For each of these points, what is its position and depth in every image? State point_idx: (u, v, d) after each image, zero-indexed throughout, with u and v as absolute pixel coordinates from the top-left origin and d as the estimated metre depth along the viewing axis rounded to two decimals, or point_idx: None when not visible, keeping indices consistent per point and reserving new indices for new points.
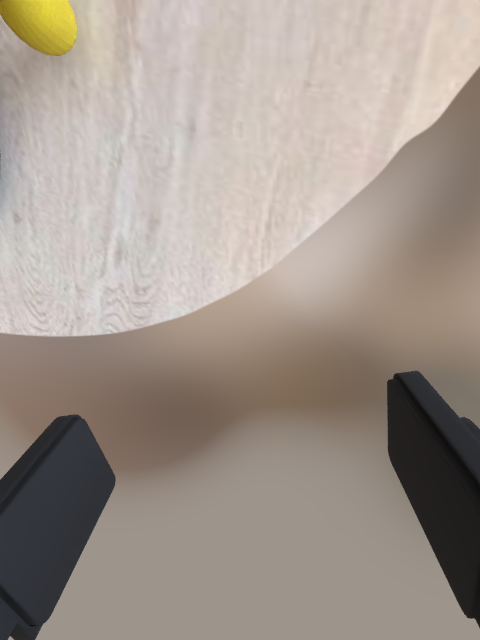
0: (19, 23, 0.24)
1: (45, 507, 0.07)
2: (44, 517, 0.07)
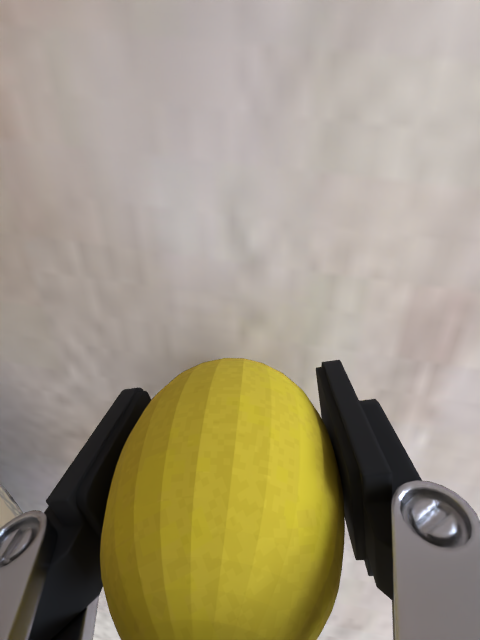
0: None
1: None
2: None
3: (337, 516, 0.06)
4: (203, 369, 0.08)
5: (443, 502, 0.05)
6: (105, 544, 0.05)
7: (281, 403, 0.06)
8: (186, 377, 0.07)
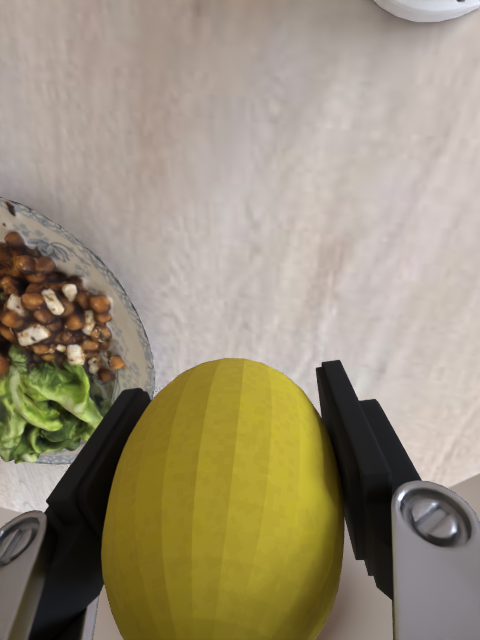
0: None
1: None
2: None
3: (337, 515, 0.06)
4: (203, 369, 0.08)
5: (443, 502, 0.05)
6: (106, 543, 0.05)
7: (280, 403, 0.07)
8: (187, 377, 0.07)
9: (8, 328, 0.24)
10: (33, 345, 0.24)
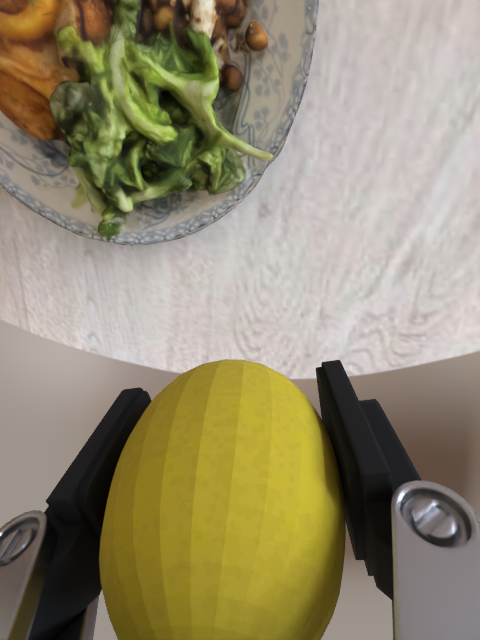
0: None
1: None
2: None
3: (338, 519, 0.06)
4: (203, 371, 0.08)
5: (443, 502, 0.05)
6: (104, 548, 0.05)
7: (281, 405, 0.06)
8: (186, 379, 0.07)
9: None
10: None
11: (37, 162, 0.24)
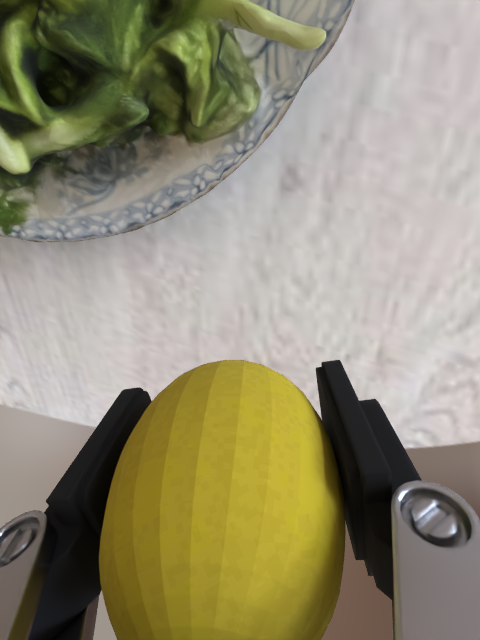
0: None
1: None
2: None
3: (338, 520, 0.06)
4: (203, 371, 0.08)
5: (443, 502, 0.05)
6: (104, 549, 0.05)
7: (281, 405, 0.06)
8: (186, 379, 0.07)
9: None
10: None
11: None
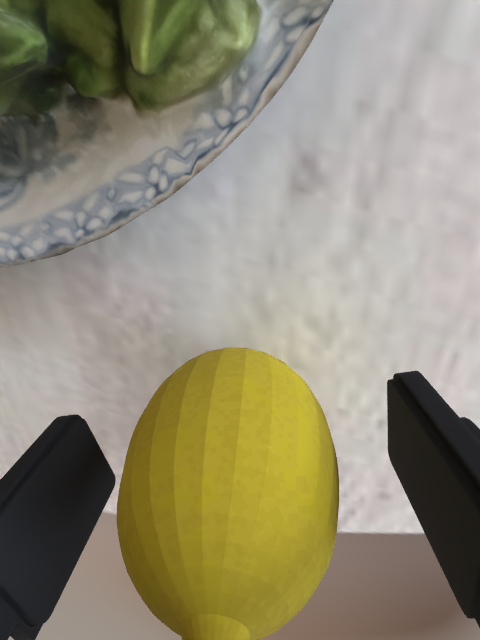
0: None
1: (45, 507, 0.07)
2: (44, 517, 0.07)
3: (332, 485, 0.06)
4: (208, 356, 0.08)
5: None
6: (123, 509, 0.06)
7: (280, 385, 0.07)
8: (193, 363, 0.08)
9: None
10: None
11: None
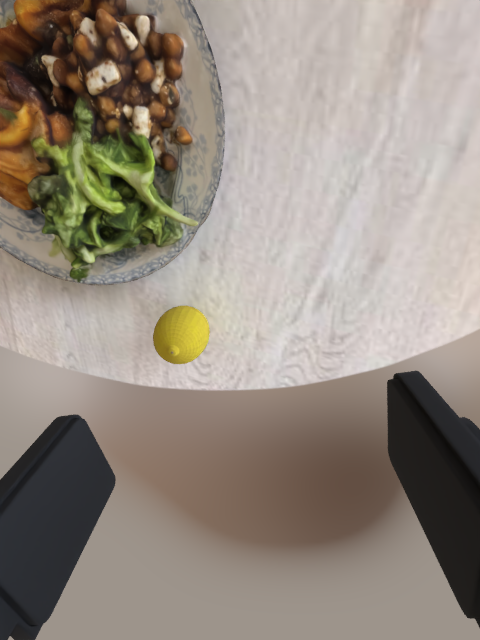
0: (175, 363, 0.28)
1: (45, 507, 0.07)
2: (44, 517, 0.07)
3: (200, 331, 0.28)
4: (175, 307, 0.30)
5: None
6: (155, 334, 0.28)
7: (191, 311, 0.29)
8: None
9: (76, 72, 0.22)
10: (101, 96, 0.23)
11: (21, 222, 0.30)
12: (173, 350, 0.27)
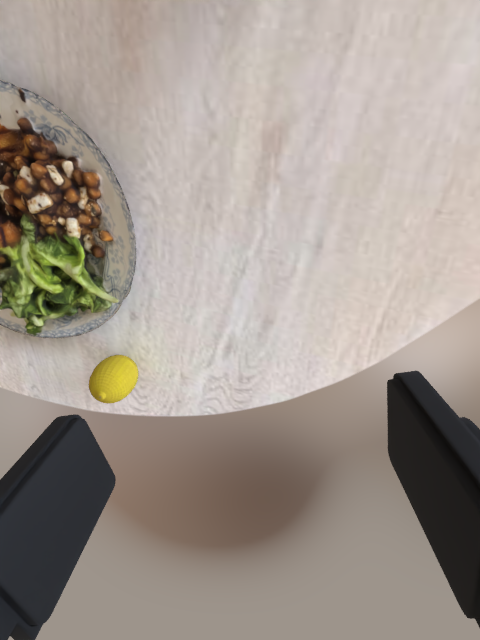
0: None
1: (45, 507, 0.07)
2: (44, 517, 0.07)
3: (125, 378, 0.37)
4: (109, 357, 0.39)
5: None
6: (89, 381, 0.36)
7: (120, 362, 0.38)
8: (106, 358, 0.38)
9: (20, 198, 0.30)
10: (39, 214, 0.31)
11: None
12: (101, 395, 0.35)
